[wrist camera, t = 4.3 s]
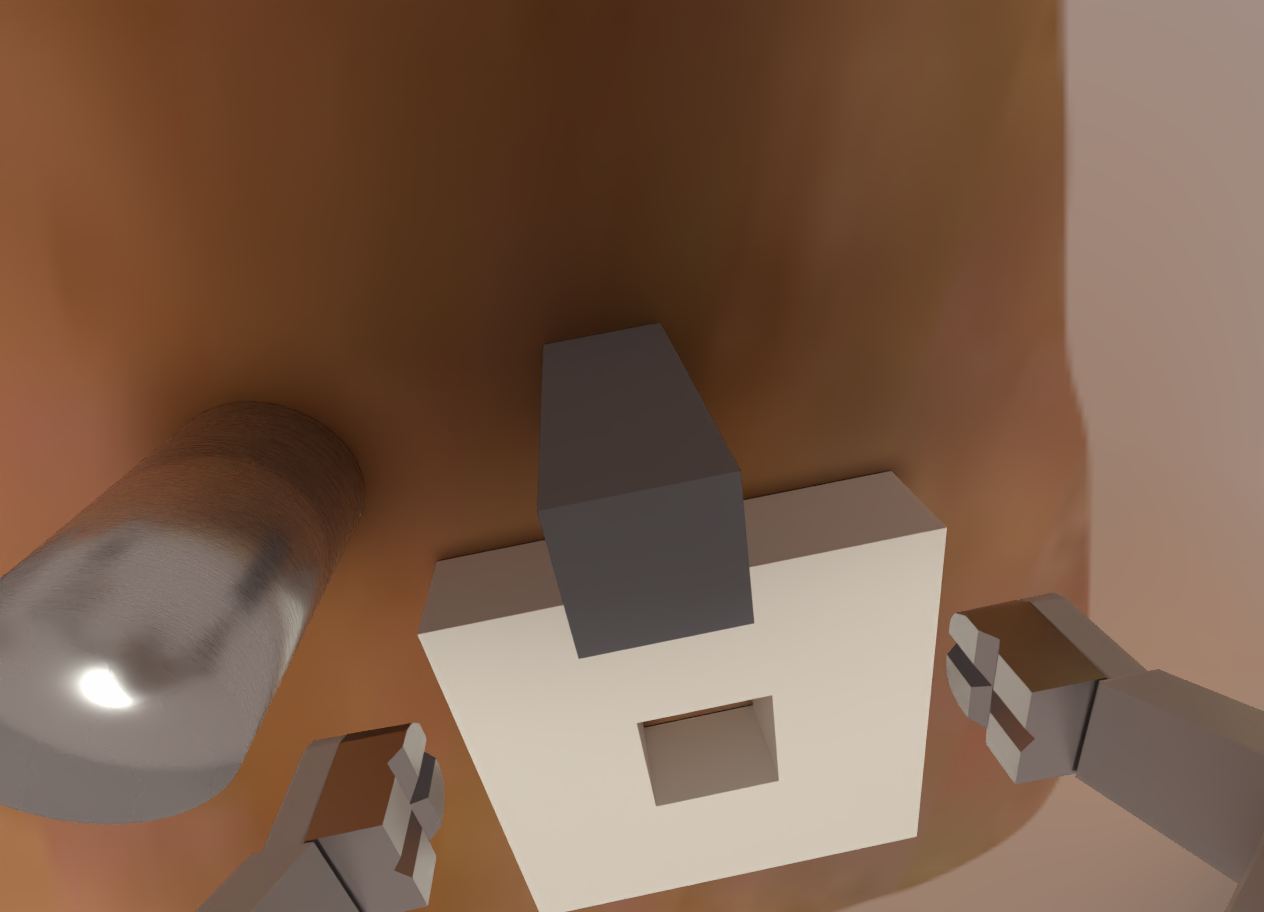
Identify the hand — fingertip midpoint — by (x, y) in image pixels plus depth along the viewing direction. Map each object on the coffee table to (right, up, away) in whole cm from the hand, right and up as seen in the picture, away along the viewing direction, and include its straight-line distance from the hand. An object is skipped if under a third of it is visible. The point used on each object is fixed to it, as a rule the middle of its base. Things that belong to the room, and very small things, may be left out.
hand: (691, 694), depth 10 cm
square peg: (-2, +6, +10) cm, 11 cm away
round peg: (-12, +3, +10) cm, 16 cm away
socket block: (+1, -5, +16) cm, 17 cm away
